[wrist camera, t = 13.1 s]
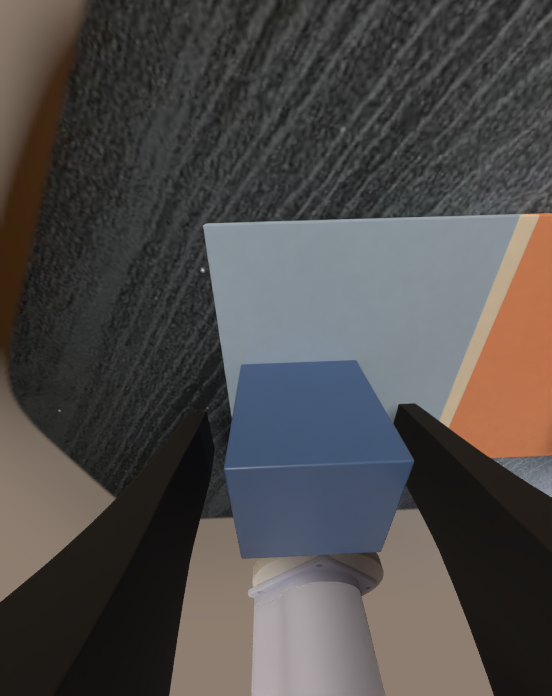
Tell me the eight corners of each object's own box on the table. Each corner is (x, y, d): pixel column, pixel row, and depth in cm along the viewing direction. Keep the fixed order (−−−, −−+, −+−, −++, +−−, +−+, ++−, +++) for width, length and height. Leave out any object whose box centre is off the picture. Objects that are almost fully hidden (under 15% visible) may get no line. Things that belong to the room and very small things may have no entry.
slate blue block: (249, 444, 12) (241, 559, 8) (240, 363, 10) (222, 469, 6) (344, 439, 12) (381, 552, 8) (356, 359, 10) (415, 460, 6)
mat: (240, 460, 13) (239, 470, 13) (205, 223, 8) (202, 224, 7) (602, 445, 13) (614, 454, 13) (814, 205, 8) (848, 205, 7)
